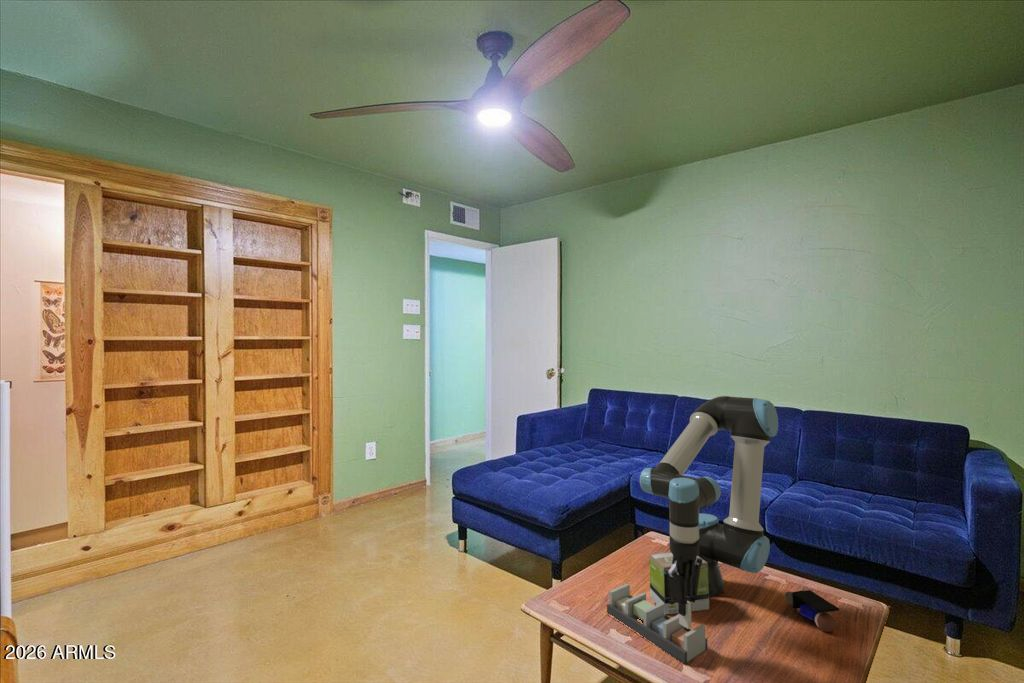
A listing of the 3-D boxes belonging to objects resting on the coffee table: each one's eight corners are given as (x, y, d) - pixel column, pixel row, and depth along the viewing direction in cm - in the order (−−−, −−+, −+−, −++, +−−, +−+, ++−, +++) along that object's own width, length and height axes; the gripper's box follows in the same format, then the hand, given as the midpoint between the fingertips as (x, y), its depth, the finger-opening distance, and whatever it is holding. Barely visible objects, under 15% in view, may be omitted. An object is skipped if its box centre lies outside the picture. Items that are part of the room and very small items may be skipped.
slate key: (662, 626, 135) (662, 617, 135) (675, 634, 131) (675, 624, 131) (651, 632, 132) (651, 622, 132) (665, 640, 129) (665, 630, 129)
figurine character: (784, 612, 147) (821, 636, 132) (782, 586, 148) (819, 607, 133) (803, 610, 148) (843, 634, 133) (801, 584, 148) (840, 605, 134)
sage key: (643, 609, 140) (643, 599, 140) (656, 616, 137) (656, 606, 137) (633, 614, 138) (633, 604, 138) (645, 621, 134) (645, 611, 134)
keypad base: (629, 604, 148) (629, 582, 148) (707, 650, 126) (707, 624, 126) (606, 614, 143) (606, 592, 143) (684, 664, 121) (684, 638, 121)
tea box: (691, 593, 155) (691, 548, 155) (709, 610, 145) (709, 562, 145) (649, 598, 152) (648, 552, 152) (664, 616, 142) (664, 566, 142)
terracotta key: (682, 638, 130) (682, 628, 130) (697, 647, 126) (697, 637, 126) (671, 644, 127) (671, 634, 127) (686, 654, 123) (686, 643, 123)
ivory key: (626, 605, 146) (626, 596, 146) (638, 612, 142) (638, 603, 142) (616, 610, 143) (616, 601, 143) (628, 617, 139) (628, 608, 139)
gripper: (686, 527, 133) (687, 610, 134) (656, 539, 126) (658, 627, 126) (711, 536, 127) (712, 623, 127) (681, 549, 120) (682, 641, 120)
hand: (685, 625), depth 127 cm, fingers closed
